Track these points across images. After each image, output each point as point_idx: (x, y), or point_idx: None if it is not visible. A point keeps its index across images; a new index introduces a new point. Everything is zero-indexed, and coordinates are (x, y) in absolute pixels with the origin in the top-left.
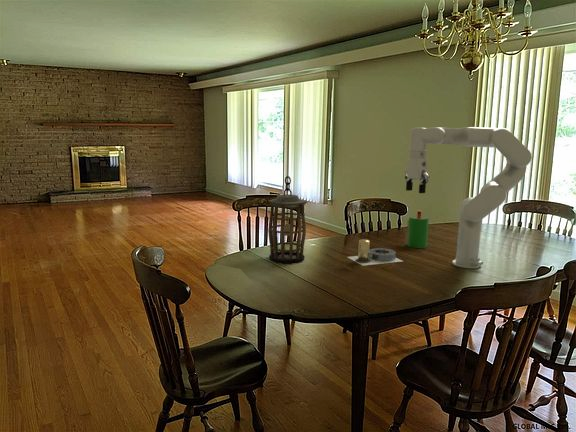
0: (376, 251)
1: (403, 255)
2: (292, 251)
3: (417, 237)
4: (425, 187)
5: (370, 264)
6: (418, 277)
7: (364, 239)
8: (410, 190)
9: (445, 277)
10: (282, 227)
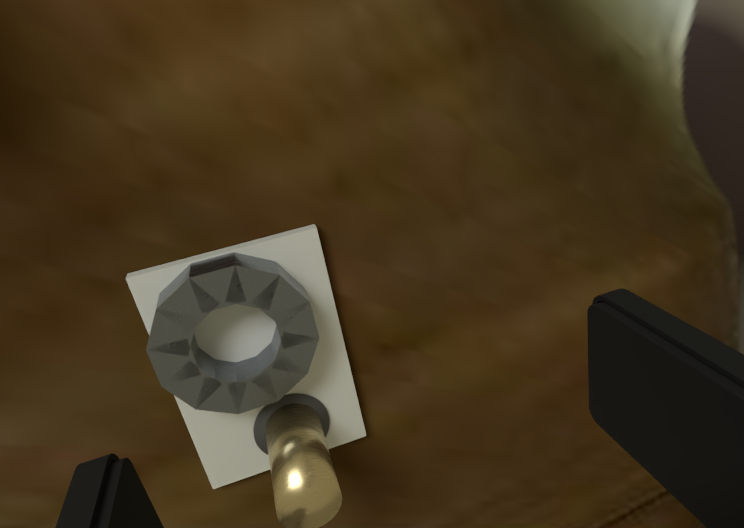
0: (199, 363)
1: (134, 159)
2: None
3: None
4: (724, 347)
5: (355, 402)
6: (533, 233)
7: (280, 501)
8: (132, 486)
9: (565, 106)
10: None
